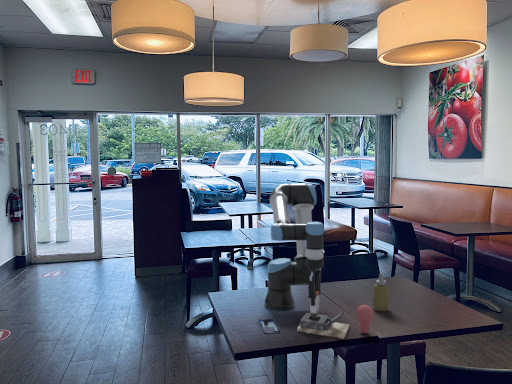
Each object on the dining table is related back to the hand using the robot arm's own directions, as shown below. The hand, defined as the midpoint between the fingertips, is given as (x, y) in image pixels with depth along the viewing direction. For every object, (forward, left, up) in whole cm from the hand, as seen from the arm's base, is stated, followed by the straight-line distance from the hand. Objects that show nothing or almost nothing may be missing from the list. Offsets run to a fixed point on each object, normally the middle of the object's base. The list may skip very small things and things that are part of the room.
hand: (314, 310), depth 179 cm
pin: (0, 0, -5) cm, 5 cm away
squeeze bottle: (+24, +34, -8) cm, 42 cm away
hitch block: (+4, 0, -8) cm, 9 cm away
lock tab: (+9, 0, -3) cm, 10 cm away
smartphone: (-19, -6, -8) cm, 22 cm away
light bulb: (+21, +3, -8) cm, 23 cm away
